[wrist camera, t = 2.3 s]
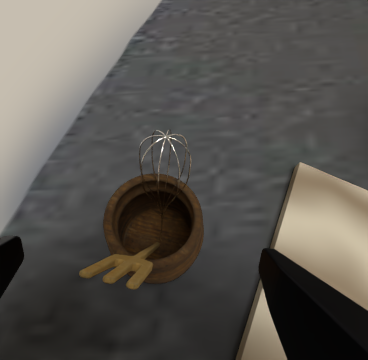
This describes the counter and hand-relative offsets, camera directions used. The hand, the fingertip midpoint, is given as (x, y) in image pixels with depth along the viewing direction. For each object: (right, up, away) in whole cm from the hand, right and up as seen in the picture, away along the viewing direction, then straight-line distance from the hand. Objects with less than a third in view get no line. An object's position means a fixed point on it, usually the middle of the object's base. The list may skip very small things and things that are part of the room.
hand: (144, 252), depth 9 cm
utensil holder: (0, -2, +9) cm, 10 cm away
